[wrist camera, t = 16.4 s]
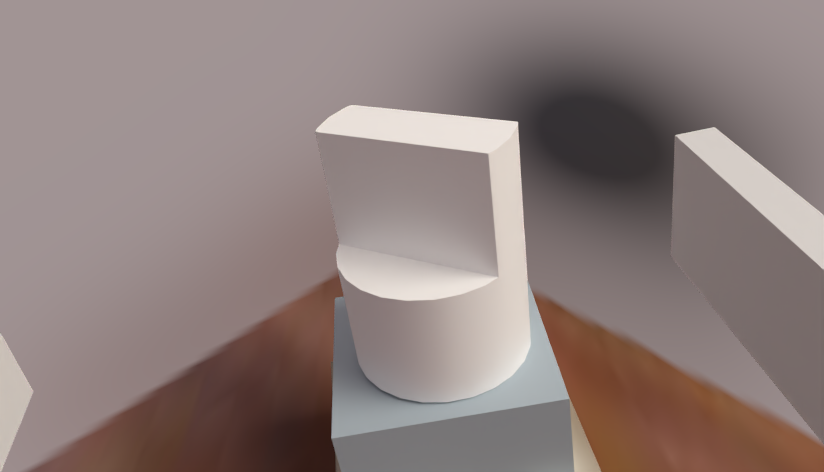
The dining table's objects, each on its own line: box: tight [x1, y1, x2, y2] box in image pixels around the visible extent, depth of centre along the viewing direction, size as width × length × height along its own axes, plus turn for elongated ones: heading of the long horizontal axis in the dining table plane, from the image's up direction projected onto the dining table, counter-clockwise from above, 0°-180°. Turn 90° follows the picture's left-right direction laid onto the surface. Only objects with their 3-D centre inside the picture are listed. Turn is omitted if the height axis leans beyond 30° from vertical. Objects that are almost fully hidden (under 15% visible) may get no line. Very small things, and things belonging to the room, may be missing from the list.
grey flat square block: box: [331, 280, 574, 472], centre depth 41 cm, size 11×11×5 cm
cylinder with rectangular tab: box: [315, 105, 531, 403], centre depth 36 cm, size 9×9×12 cm
